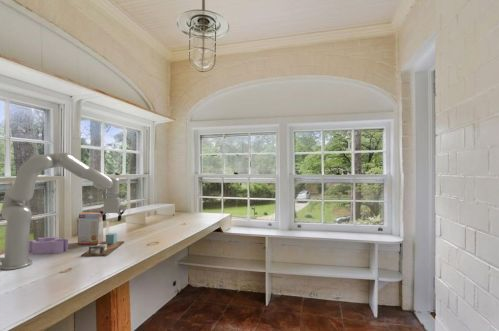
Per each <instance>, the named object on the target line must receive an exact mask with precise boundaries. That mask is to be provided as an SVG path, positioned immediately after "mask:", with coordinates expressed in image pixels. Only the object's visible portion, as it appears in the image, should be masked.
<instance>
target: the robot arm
mask: <svg viewBox="0 0 499 331" xmlns="http://www.w3.org/2000/svg"><path fill="white" fill-rule="evenodd" d="M52 168H63V169H65V170H66V171H68V172H70V173H71V174H73V175H74V176H76V177H78V178H80V179H84V180H86V181H90V182H92V185H93V187H95V188H96V189H99V190H106V193H105V194H104V197H105V198H104V200H103V206H102V207H100V208H98V211H99V213H101V214H102V220H103V222H105V221H106V220H107V215H106V214H117V215H118V216H117V222H121V221H122V215H123V214H124V213H125V211H126V208H125V207H124V206H122V204H121V202H122V201H121V198H120V177H119V178H118V177H109V176H107V175H105V174H104V173H102V172H101V171H99V170H97V169H94V168H93V167H92V166H89V165H88V164H86V163H84V162H83V161H81V160H80V159H78V158H77V157H75V156H74V155H72V154H71V153H68V152H57V153H47V154H45V153H44V154H34V155H33V154H32V155H31V156H30V157H29V158H28V159H27V160H25V162H23V163H22V164H21V165H20V167H19V168H18V171H17V173H16V176H15V179H14V183H12V184H11V185H10V186H8V187H7V189H6V190H5V192H4V196H3V201H2V205H1V210H0V212H1V217H2V218H3V219H4V220H6V226H5V233H4V234H5V235H4V237H5V239H4V257H3V256H1V257H0V263H1V264H0V270H3V271H11V270H17V269H23V268H26V267H28V266H30V265H32V264H33V260H32V259H29V257H30V256H29V254H30V252H29V241H30V231H31V222H32V221H31V220H32V215H33V214H32V211H31V209H30V208H29V207H28V205H27V206H26V202H30V200H31V199H33V197H34V193H35V188H36V183H37V179H38V176H39V175H40V173H41V172H43V171H44V170H48V169H52ZM121 210H122V211H121Z"/></svg>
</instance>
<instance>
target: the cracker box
mask: <svg viewBox="0 0 499 331" xmlns="http://www.w3.org/2000/svg"><path fill="white" fill-rule="evenodd" d="M77 228H78V232H77V233H78V234H77V244H78V245H90V246H96V245H98V244H100V243H101V242H103V241H104V221H103V220H102V214H101V213H100V212H89V211H88V212H84V211H83V212H80V213H78V227H77Z"/></svg>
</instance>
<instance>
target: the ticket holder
mask: <svg viewBox="0 0 499 331" xmlns="http://www.w3.org/2000/svg"><path fill="white" fill-rule="evenodd" d="M123 244H125V241H122V240H118V241H117V242H116V243H114V244H106V240H105V241H104V240H103V242H101V243H100V244H98V245H89V246H88V250H87V251H85V252H83V253H82V254H81V257H108V256H109V255H110V254H112V253H113V252H114V251H115V250H116V249H118V248H119V247H121V246H122V245H123Z"/></svg>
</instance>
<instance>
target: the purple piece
mask: <svg viewBox="0 0 499 331" xmlns="http://www.w3.org/2000/svg"><path fill="white" fill-rule="evenodd" d="M68 247H69V238H66V237H65V238H58V237H56V236H54V237H53V236H48V237H38V238H37V239H34V240H33V239H32V240H29V253H32V254H33V253H34V255H41V254H42V255H43V254H44V253H45V254H62V253H61V252H63V253H64V251H66V252H68V251H69V248H68ZM67 250H68V251H67Z"/></svg>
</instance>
